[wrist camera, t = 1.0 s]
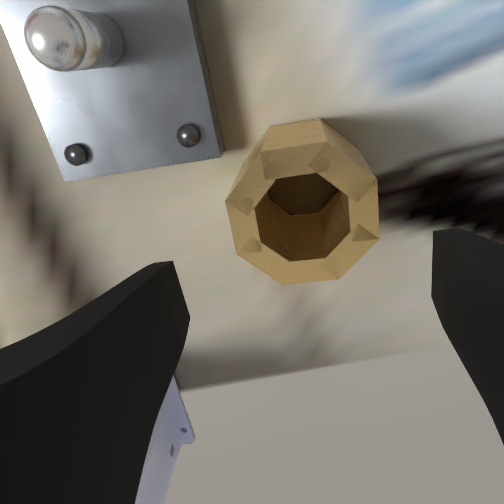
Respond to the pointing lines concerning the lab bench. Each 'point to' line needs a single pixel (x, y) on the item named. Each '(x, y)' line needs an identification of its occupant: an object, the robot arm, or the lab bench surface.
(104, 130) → the block
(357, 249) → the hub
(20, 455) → the robot arm
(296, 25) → the lab bench surface
